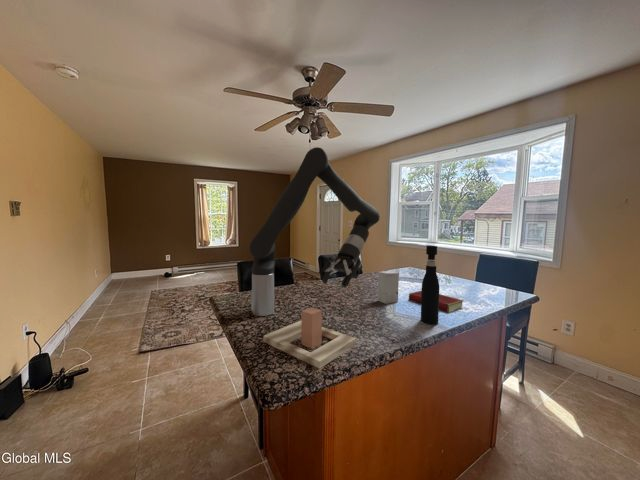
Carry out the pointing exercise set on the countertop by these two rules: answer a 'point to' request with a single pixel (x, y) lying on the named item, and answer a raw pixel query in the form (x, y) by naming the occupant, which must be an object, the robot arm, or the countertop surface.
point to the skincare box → (388, 287)
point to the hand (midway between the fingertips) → (333, 284)
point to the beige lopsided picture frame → (314, 358)
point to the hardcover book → (444, 301)
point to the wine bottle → (430, 290)
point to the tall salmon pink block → (311, 327)
